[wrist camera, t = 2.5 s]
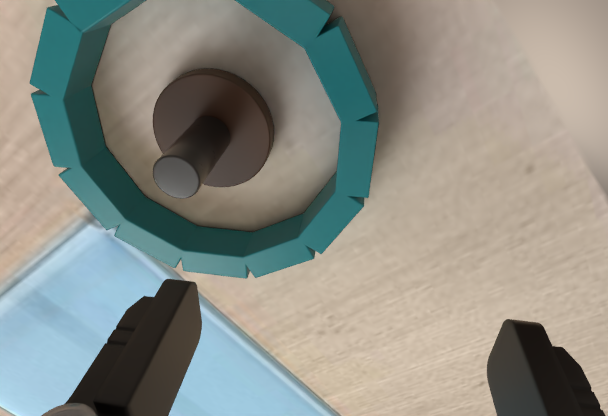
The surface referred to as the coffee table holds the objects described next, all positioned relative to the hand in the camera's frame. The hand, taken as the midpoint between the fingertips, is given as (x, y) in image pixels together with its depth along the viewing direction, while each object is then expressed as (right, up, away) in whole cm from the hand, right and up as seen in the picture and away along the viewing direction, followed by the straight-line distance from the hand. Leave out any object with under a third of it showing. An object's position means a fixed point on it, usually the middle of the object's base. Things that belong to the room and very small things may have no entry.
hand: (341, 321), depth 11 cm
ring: (-5, +7, +11) cm, 14 cm away
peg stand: (-5, +7, +11) cm, 14 cm away
